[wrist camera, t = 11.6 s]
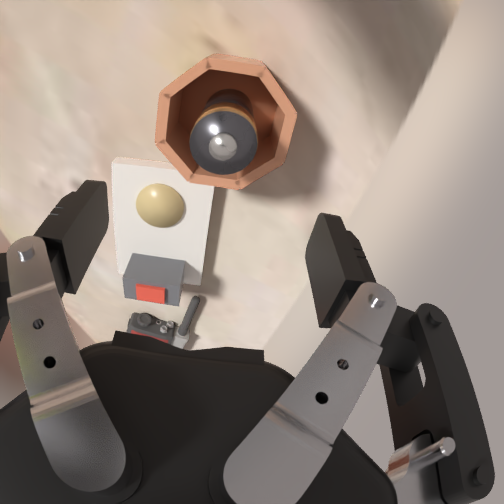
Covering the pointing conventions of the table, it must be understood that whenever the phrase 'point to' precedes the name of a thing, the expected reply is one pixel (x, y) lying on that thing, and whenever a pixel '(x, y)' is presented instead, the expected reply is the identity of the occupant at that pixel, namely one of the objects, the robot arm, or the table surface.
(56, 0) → the table surface
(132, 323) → the walkie-talkie
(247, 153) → the cell
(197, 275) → the tester
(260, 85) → the cup
